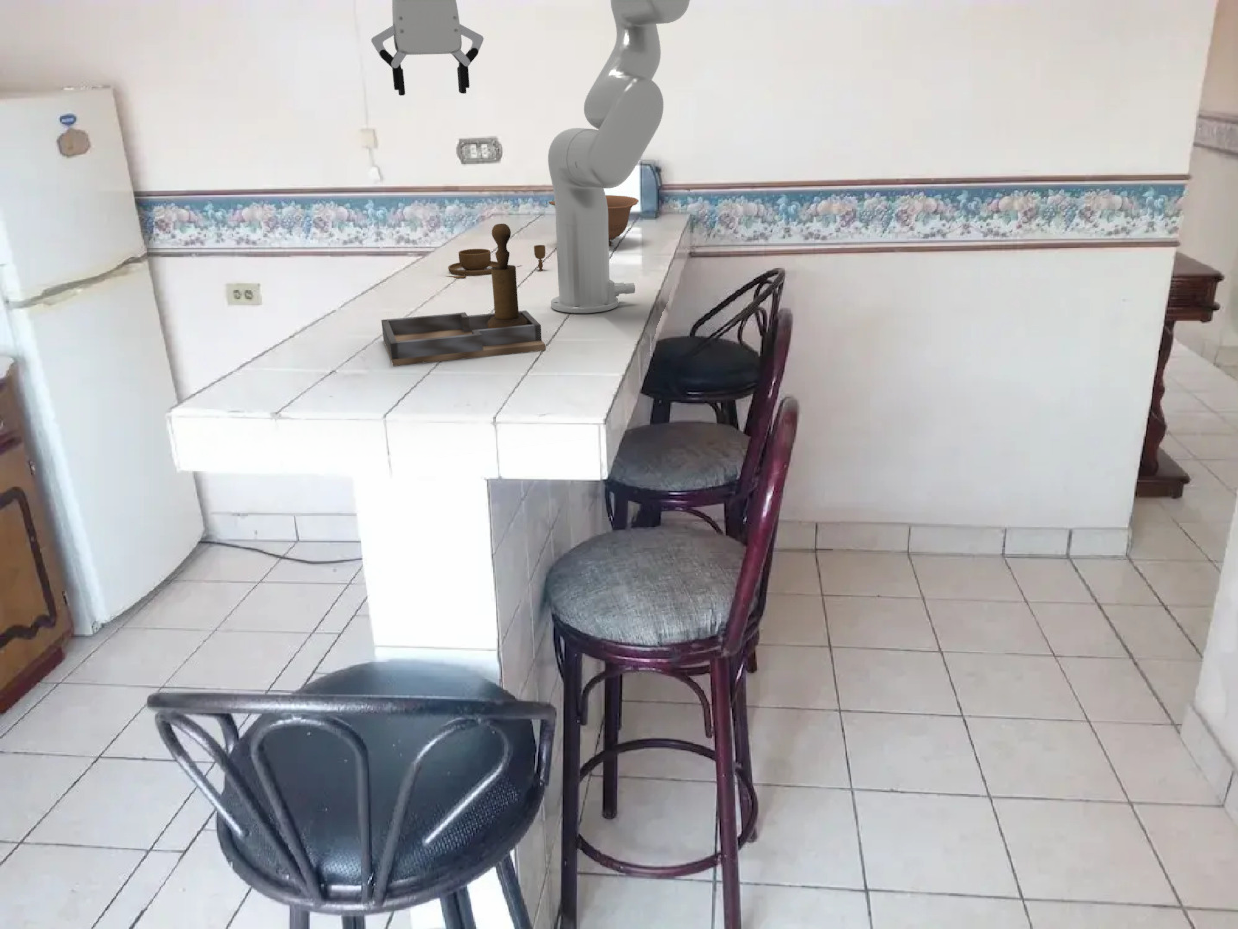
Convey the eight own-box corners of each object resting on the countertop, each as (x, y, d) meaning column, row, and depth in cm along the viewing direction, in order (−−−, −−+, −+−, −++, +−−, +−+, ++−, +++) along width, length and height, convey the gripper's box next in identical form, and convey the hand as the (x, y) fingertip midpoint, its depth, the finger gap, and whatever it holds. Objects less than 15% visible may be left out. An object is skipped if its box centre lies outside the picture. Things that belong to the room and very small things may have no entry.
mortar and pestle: (481, 338, 166) (472, 226, 159) (498, 328, 171) (490, 220, 165) (518, 340, 164) (511, 227, 157) (534, 330, 169) (528, 221, 163)
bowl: (538, 242, 256) (536, 197, 252) (618, 234, 264) (617, 191, 260) (568, 256, 237) (566, 208, 233) (653, 247, 245) (653, 201, 241)
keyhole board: (524, 326, 176) (522, 307, 175) (545, 350, 162) (544, 328, 160) (383, 340, 170) (381, 319, 168) (393, 365, 155) (390, 343, 154)
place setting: (481, 264, 234) (479, 238, 232) (551, 271, 224) (550, 244, 222) (429, 277, 220) (426, 250, 218) (500, 286, 210) (499, 258, 208)
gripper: (474, -24, 160) (482, 91, 167) (362, -24, 156) (375, 95, 162) (483, -28, 154) (490, 93, 160) (366, -28, 149) (379, 96, 155)
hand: (432, 94), depth 161 cm, fingers open, 9 cm apart
